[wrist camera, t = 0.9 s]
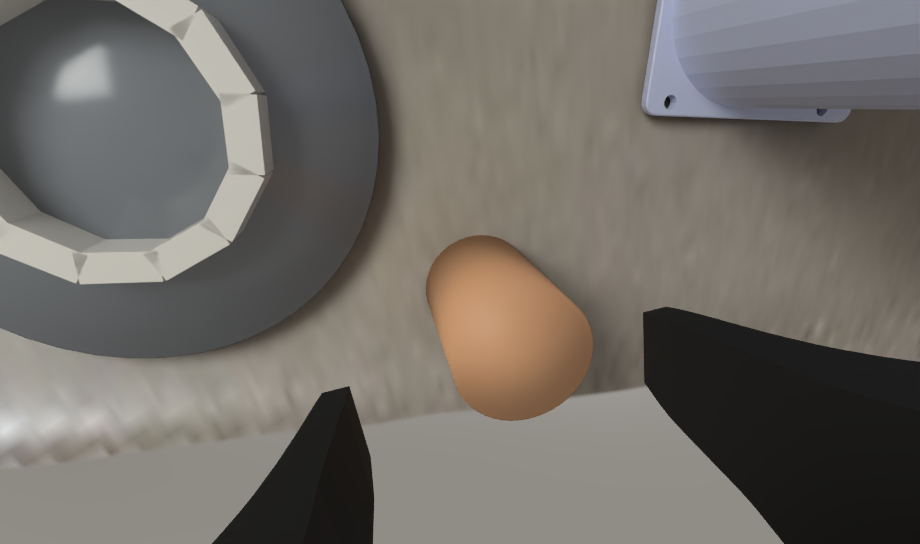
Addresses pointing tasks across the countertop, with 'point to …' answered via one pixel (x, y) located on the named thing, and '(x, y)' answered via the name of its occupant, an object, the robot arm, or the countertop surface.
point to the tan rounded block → (506, 330)
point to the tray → (176, 168)
